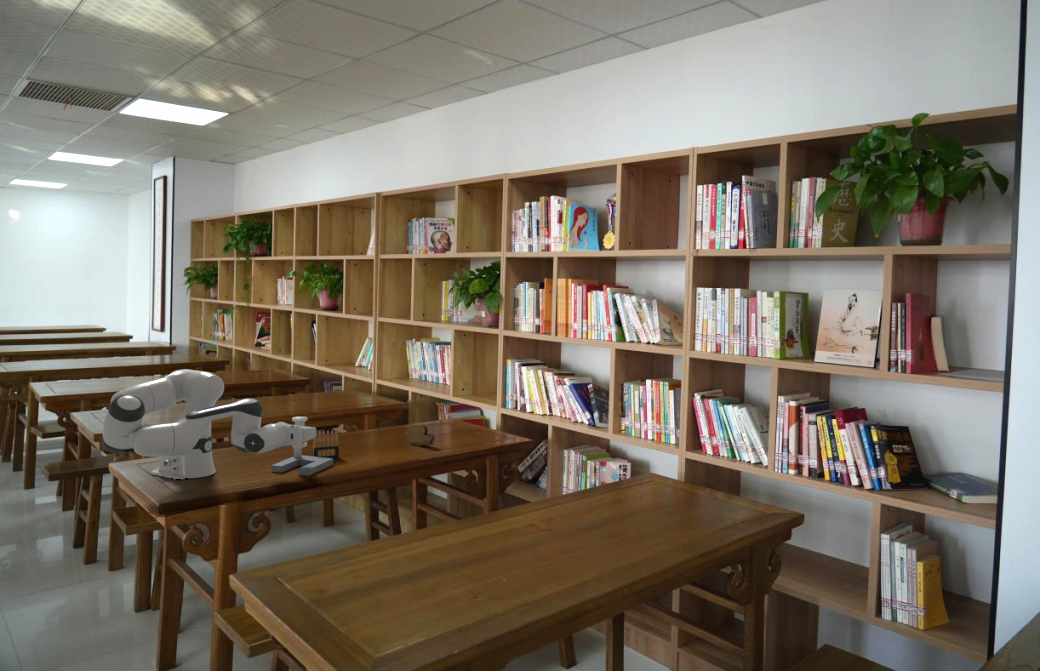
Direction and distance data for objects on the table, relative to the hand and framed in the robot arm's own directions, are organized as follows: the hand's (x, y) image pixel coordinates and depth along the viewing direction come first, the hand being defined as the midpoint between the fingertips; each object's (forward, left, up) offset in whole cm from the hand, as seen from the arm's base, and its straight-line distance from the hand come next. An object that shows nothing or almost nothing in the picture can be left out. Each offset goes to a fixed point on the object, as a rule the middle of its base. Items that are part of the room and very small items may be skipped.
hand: (301, 427), depth 277 cm
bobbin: (0, -1, -7) cm, 7 cm away
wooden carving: (+25, +58, -17) cm, 65 cm away
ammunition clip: (-1, +20, -17) cm, 26 cm away
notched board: (-1, +3, -17) cm, 17 cm away
